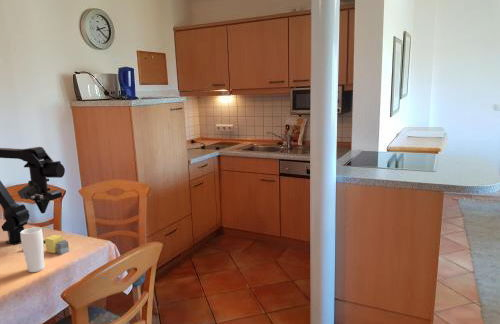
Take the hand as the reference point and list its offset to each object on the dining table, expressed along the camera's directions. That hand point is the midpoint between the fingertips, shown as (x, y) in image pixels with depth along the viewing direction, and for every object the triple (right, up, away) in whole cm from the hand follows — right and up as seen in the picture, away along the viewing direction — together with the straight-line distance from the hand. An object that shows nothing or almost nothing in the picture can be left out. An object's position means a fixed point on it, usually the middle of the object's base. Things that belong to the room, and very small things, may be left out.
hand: (43, 213), depth 155 cm
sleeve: (+9, -14, -7) cm, 18 cm away
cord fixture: (+5, -14, -6) cm, 16 cm away
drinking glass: (+10, -17, -23) cm, 30 cm away
